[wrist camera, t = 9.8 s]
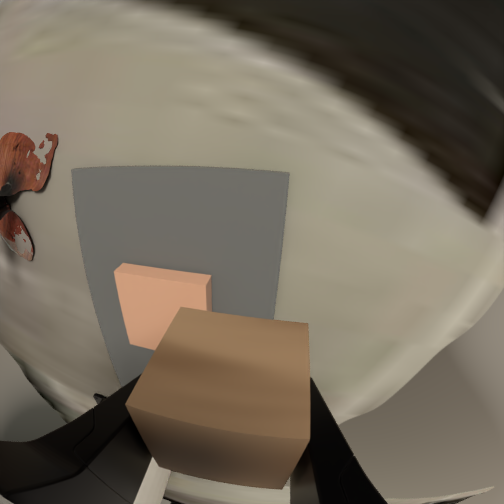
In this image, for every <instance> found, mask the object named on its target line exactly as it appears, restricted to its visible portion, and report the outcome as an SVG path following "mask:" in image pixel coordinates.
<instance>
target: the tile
mask: <svg viewBox="0 0 504 504" xmlns="http://www.w3.org/2000/svg"><path fill="white" fill-rule="evenodd" d="M114 275H115V281H116V286H117V291H118V296H119V301H120V305H121V310H122V314H123V318H124V322H125V326H126V330H127V334H128V338H129V342H130V344H132V345H136V346H140V347H144V348H148V349H152V350H156V348H157V346H158V345H159V343H160V341H161V339H162V338H163V336H164V334H165V333H166V331H167V329H168V327H169V326H170V324H171V322H172V321H173V319H174V317H175V315H176V314H177V312H178V310H179V309H180V307H186V308H192V309H198V310H204V311H211V312H212V285H211V275H206V274H199V273H191V272H184V271H176V270H169V269H162V268H155V267H148V266H141V265H134V264H128V263H122V264H121V265H120V266H119V267H118V268H117V269H116V270H115V271H114Z"/></svg>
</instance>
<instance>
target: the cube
mask: <svg viewBox="0 0 504 504" xmlns="http://www.w3.org/2000/svg"><path fill="white" fill-rule="evenodd" d="M125 405H126V407H127V409H128V411H129V413H130V415H131V417H132V419H133V421H134V423H135V425H136V427H137V429H138V431H139V433H140V435H141V437H142V439H143V440H144V442H145V444H146V446H147V448H148V449H149V451H150V453H151V455H152V456H153V458H154V460H155V461H156V463H157V465H158V466H159V467H161V468H164V469H168V470H171V471H175V472H178V473H182V474H186V475H190V476H194V477H198V478H203V479H208V480H212V481H218V482H223V483H229V484H235V485H242V486H249V487H258V488H268V489H281V490H282V489H283V487H284V485H285V484H286V482H287V480H288V479H289V477H290V475H291V474H292V472H293V470H294V468H295V467H296V465H297V463H298V461H299V459H300V457H301V456H302V454H303V452H304V450H305V448H306V446H307V444H308V442H309V440H310V359H309V331H308V323H299V322H289V321H280V320H271V319H262V318H254V317H246V316H239V315H232V314H225V313H218V312H211V311H204V310H198V309H192V308H186V307H180V309H179V310H178V312H177V314H176V315H175V317H174V319H173V321H172V322H171V324H170V326H169V327H168V329H167V331H166V333H165V334H164V336H163V338H162V339H161V341H160V343H159V345H158V346H157V348H156V350H155V352H154V353H153V355H152V357H151V359H150V360H149V362H148V364H147V366H146V367H145V369H144V371H143V373H142V375H141V376H140V378H139V380H138V382H137V384H136V385H135V387H134V389H133V391H132V393H131V394H130V396H129V398H128V400H127V402H126V404H125Z"/></svg>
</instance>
